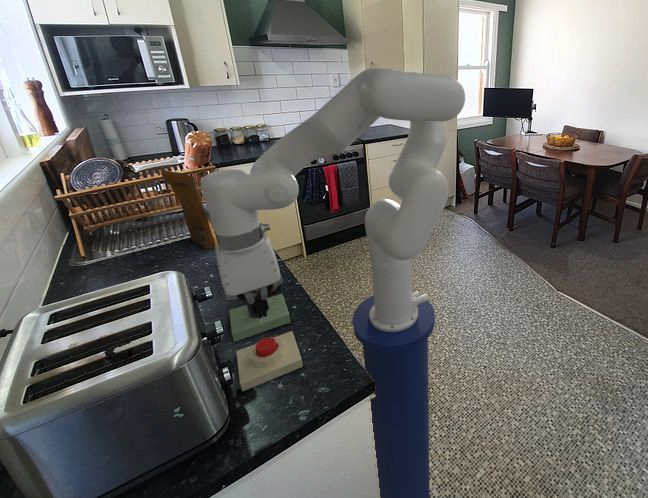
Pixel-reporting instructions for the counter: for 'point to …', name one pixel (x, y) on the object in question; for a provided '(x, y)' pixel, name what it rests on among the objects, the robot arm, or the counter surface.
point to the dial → (251, 307)
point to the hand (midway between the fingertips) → (262, 313)
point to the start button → (266, 347)
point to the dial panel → (251, 326)
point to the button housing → (268, 362)
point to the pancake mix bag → (192, 208)
